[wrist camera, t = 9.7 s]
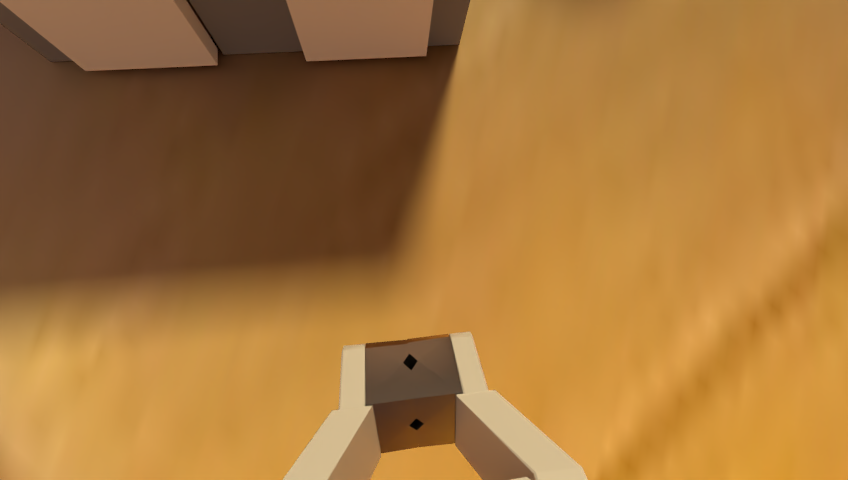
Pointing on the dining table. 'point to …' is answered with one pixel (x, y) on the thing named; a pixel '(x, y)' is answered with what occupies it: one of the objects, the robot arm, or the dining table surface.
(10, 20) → the grey cabinet
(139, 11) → the thin beige tile
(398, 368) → the robot arm
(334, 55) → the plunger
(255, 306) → the dining table surface
